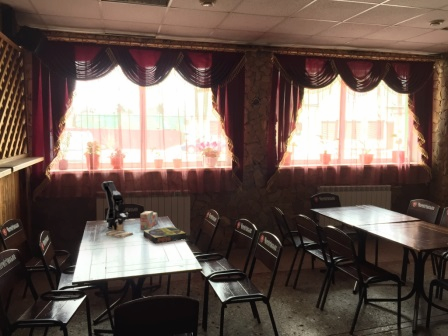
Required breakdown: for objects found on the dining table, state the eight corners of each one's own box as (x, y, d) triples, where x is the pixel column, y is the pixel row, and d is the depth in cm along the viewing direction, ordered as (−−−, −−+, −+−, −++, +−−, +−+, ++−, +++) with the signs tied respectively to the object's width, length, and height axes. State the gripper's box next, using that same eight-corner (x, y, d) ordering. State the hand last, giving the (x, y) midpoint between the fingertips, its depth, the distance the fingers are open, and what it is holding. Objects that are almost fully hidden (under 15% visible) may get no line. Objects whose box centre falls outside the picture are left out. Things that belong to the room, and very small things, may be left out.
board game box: (186, 239, 294) (185, 232, 293) (155, 244, 282) (155, 237, 281) (172, 232, 314) (172, 226, 313) (143, 237, 302) (143, 230, 301)
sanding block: (112, 230, 320) (112, 224, 319) (116, 229, 324) (116, 223, 323) (119, 231, 316) (119, 225, 316) (123, 230, 320) (123, 224, 320)
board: (105, 234, 307) (105, 232, 307) (115, 231, 316) (115, 229, 316) (123, 237, 298) (123, 235, 298) (132, 234, 307) (132, 232, 307)
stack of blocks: (151, 223, 346) (150, 208, 345) (157, 223, 345) (157, 209, 344) (140, 228, 326) (140, 213, 324) (147, 229, 324) (147, 214, 323)
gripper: (116, 213, 306) (116, 233, 308) (133, 208, 323) (133, 228, 324) (105, 211, 312) (106, 231, 313) (122, 207, 328) (123, 226, 329)
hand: (118, 229), depth 320 cm, fingers closed on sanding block, 4 cm apart
